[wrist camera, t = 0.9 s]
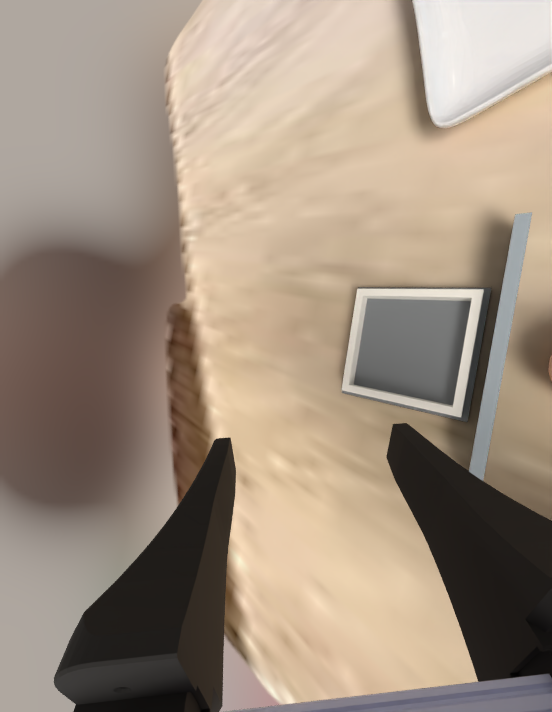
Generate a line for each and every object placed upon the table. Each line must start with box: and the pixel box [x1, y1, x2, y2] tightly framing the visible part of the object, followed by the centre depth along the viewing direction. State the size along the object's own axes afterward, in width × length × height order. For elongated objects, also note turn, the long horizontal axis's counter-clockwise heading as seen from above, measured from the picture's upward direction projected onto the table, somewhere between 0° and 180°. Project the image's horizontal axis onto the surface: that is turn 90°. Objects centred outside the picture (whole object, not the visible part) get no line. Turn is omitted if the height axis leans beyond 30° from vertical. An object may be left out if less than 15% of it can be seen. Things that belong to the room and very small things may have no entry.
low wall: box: [469, 213, 532, 481], centre depth 19 cm, size 1×18×3 cm, turn 170°
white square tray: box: [341, 287, 491, 422], centre depth 24 cm, size 10×10×2 cm
